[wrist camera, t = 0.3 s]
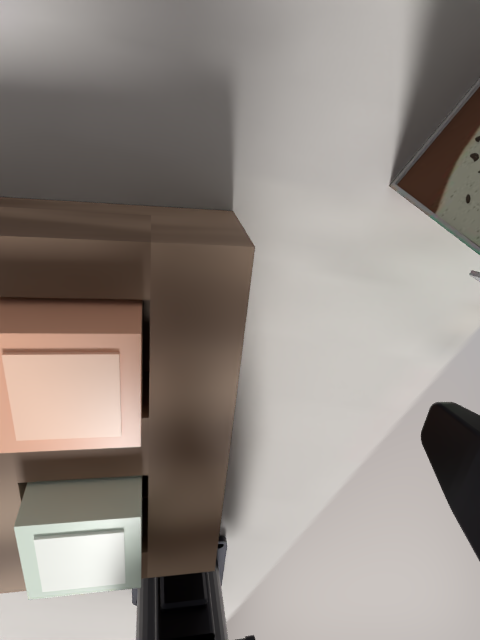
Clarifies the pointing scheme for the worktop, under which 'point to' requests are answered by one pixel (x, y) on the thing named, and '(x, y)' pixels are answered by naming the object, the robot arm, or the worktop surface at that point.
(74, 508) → the sage key
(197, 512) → the key console
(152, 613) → the robot arm
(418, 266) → the worktop surface
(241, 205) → the worktop surface
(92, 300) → the terracotta key
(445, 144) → the food container
